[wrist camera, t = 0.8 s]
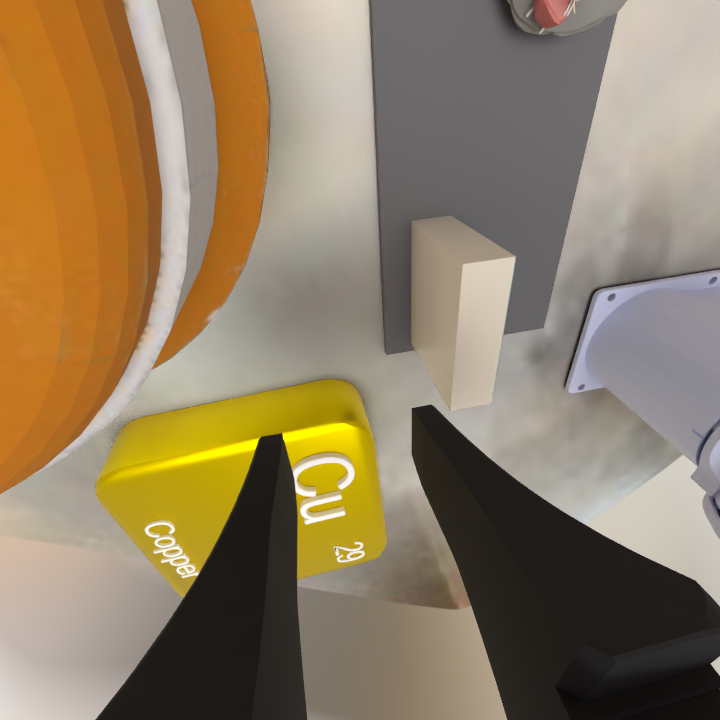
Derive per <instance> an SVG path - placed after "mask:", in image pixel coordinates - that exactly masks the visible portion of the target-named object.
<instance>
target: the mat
mask: <svg viewBox="0 0 720 720" xmlns="http://www.w3.org/2000/svg"><path fill="white" fill-rule="evenodd" d="M369 2H370V25H371V48H372V70H373V93H374V116H375V139H376V161H377V184H378V207H379V229H380V252H381V275H382V297H383V320H384V343H385V353H386V355H388V354H394V353H400V352H406V351H412V350H415V349H414V348H413V346H412V344H411V236H412V221H414V220H422V219H429V218H437V217H444V216H453V217H454V218H456V219H457V220H459V221H461V222H462V223H464V224H465V225H467V226H468V227H470V228H472V229H473V230H475V231H476V232H478V233H480V234H481V235H483V236H484V237H486V238H487V239H489V240H491V241H492V242H494V243H495V244H497V245H498V246H500V247H502V248H503V249H505V250H506V251H508V252H510V253H511V254H513V255H514V256H516V258H515V259H516V262H515V268H514V274H513V280H512V286H511V292H510V298H509V304H508V310H507V316H506V322H505V328H504V334H503V335H505V334H510V333H516V332H522V331H528V330H534V329H539V328H544V324H545V319H546V315H547V311H548V307H549V302H550V298H551V294H552V289H553V285H554V281H555V277H556V272H557V268H558V264H559V260H560V255H561V251H562V247H563V243H564V238H565V234H566V230H567V226H568V221H569V217H570V213H571V209H572V204H573V200H574V196H575V191H576V187H577V183H578V179H579V174H580V170H581V166H582V162H583V157H584V153H585V149H586V145H587V140H588V136H589V132H590V128H591V123H592V119H593V115H594V111H595V106H596V102H597V98H598V93H599V89H600V85H601V81H602V76H603V72H604V68H605V64H606V59H607V55H608V51H609V47H610V42H611V38H612V34H613V30H614V25H615V21H616V17H617V13H616V14H614V15H611V16H609V17H606V18H605V19H604V20H603V21H602V22H601V23H600V24H598V25H596V26H594V27H592V28H589V29H587V30H585V31H582V32H579V33H575V34H572V35H568V36H558V35H554V33H552V34H546V35H538V34H533V33H528V32H525V31H523V30H520V29H519V28H518V27H517V25H516V24H515V22H514V18H513V15H512V12H511V7H510V4H509V3H508V2H507V0H369Z"/></svg>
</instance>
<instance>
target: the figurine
mask: <svg viewBox="0 0 720 720" xmlns="http://www.w3.org/2000/svg"><path fill="white" fill-rule="evenodd" d="M626 1H627V0H507V2H508V3H509V4H510V7H511V12H512V15H513V18H514V22H515V24H516V25H517V27H518V28H519V29H520V30H523V31H525V32H528V33H533V34H538V35H546V34H552V33H554V35H558V36H568V35H572V34H575V33H579V32H582V31H585V30H587V29H589V28H592V27H594V26H596V25H598V24H600V23H601V22H602V21H603V20H604V19H605V18H606V17H609V16H611V15H614V14H616V13H617V12H618V11H619V10H620V9H621V8H622V6H623V5H624V4H625V2H626Z"/></svg>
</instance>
